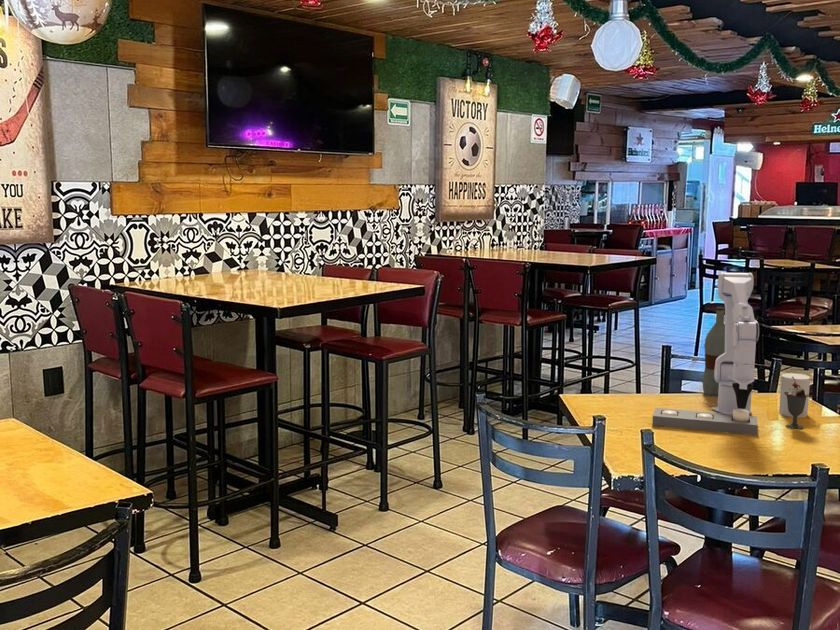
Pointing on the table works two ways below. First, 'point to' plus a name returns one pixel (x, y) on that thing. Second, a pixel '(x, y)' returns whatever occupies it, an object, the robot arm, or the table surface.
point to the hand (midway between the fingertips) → (741, 408)
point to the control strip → (704, 422)
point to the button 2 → (741, 415)
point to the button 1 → (669, 413)
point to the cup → (785, 386)
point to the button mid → (704, 416)
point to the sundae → (795, 403)
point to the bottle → (714, 353)
